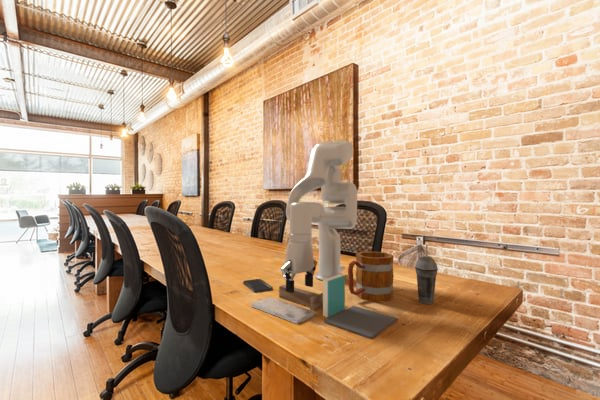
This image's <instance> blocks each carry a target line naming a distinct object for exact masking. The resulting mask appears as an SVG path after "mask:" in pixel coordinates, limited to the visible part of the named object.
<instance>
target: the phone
mask: <svg viewBox="0 0 600 400" xmlns="http://www.w3.org/2000/svg"><path fill="white" fill-rule="evenodd" d="M242 283H243V285H244V286H246V287H247V288H248V289H249V290H251V292H253V293H256V294H257V293H263V292H269V291H273V290H274V289H273V286H271V285H270V284H269V283H267V282H266V281H264V280H262V279H261V278H255V279H249V280H243V281H242Z"/></svg>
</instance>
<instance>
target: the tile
mask: <svg viewBox="0 0 600 400" xmlns="http://www.w3.org/2000/svg"><path fill="white" fill-rule="evenodd" d="M342 274H343V273H341V274H339V275H336V276H333V277H330V278H327V279H324V280H322V293H323V306H322V317H324V316H325V317H324V318H327V317H328V318H330V317H332V316H334V315H336V314H338V313H340V312H342V311H344V310H346V307H345V306H346V305H345V304H346V302H345V301H346V300H345V299H346V297H345V296H346V282H345V281H346V276H345V274H343V275H342Z"/></svg>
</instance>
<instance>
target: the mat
mask: <svg viewBox="0 0 600 400" xmlns="http://www.w3.org/2000/svg"><path fill="white" fill-rule="evenodd" d="M398 320H399V318H398V317H397V316H392V315H388V314H385V313H381V312H378V311H374V310H370V309H367V308H364V307H360V306H357V305H352V306H350V307H348V308H345V309H344V310H342V311H340V312H338V313H336V314H334V315H332V316H330V317H328V318H326V319H324V320H323V323H325V324H328V325H330V326H332V327H333V326H334V327H336V328H339V329H342V330H345V331H347V332H351V333H354V334H356V335H359V336H362V337H365V338H368V339H371V340H373V338H375V337H376V336H378V335H379V334H380V333H381V332H383V331H385V329H387V328H388V327H390V326H392V325H393V324H394V323H395V322H397V321H398Z"/></svg>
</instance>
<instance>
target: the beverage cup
mask: <svg viewBox="0 0 600 400" xmlns="http://www.w3.org/2000/svg"><path fill="white" fill-rule="evenodd" d="M414 268H415V273H416V282H417V295H418V296H417V297H418V301H419V303H421V304H425V305H433V304H434V298H435V291H436V279H437V275H438V270H439V268H438V264H437V262H436V261H435V259H433V258H432V257H431V256H428V243H426V244H425V256H421V257H419V258H418V259H417V261H416V262H415V267H414Z"/></svg>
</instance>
